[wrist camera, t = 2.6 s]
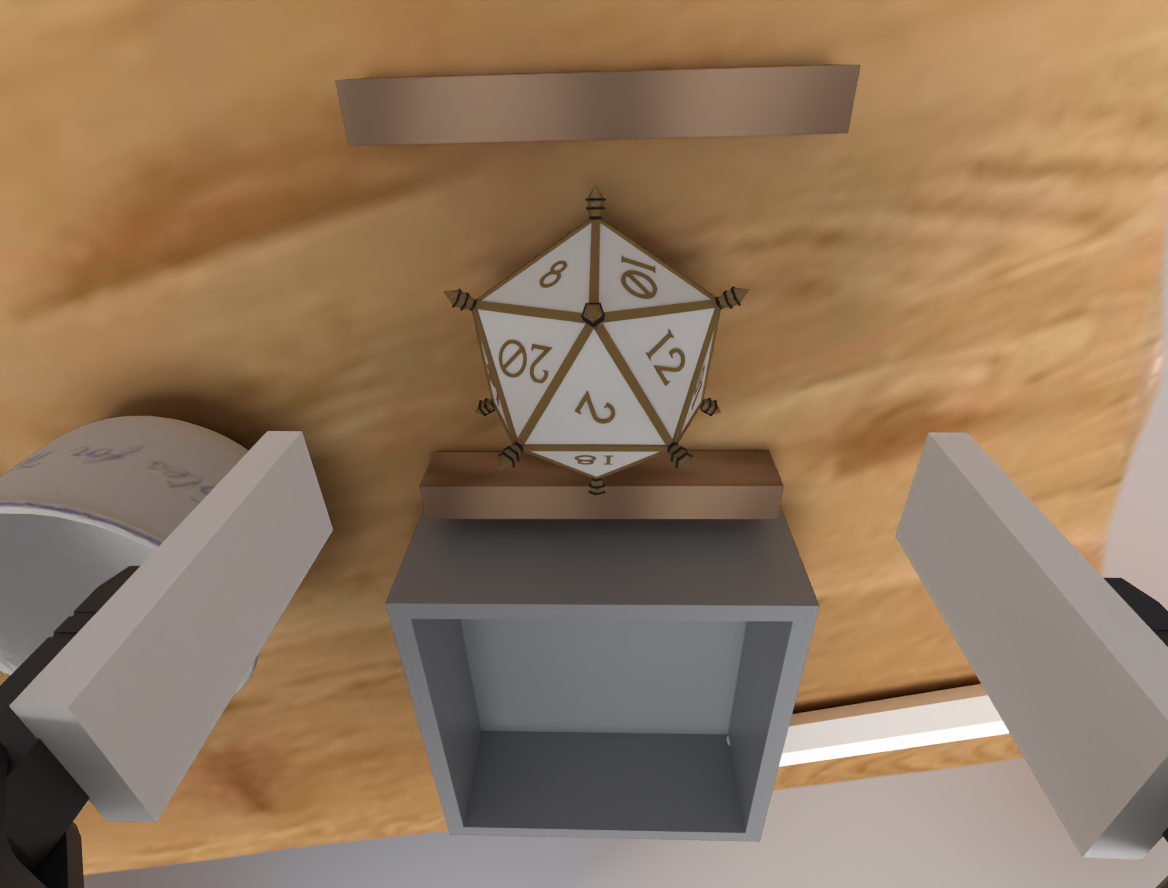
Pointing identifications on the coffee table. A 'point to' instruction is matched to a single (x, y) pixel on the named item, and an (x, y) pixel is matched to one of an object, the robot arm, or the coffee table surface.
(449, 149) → the coffee table surface
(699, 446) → the coffee table surface
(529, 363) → the game die
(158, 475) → the teacup
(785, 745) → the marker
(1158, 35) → the coffee table surface
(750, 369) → the coffee table surface
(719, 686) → the bin
